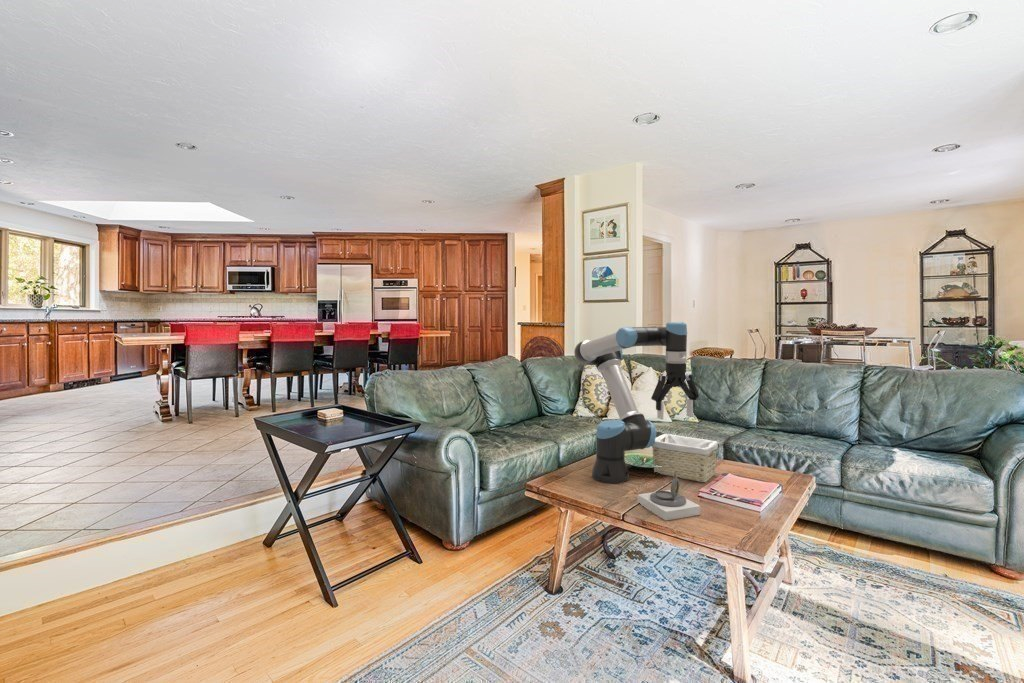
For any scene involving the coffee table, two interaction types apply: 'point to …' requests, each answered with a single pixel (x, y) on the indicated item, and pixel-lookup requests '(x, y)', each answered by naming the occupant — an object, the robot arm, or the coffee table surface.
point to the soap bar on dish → (669, 506)
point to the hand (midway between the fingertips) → (675, 417)
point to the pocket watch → (673, 490)
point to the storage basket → (685, 457)
